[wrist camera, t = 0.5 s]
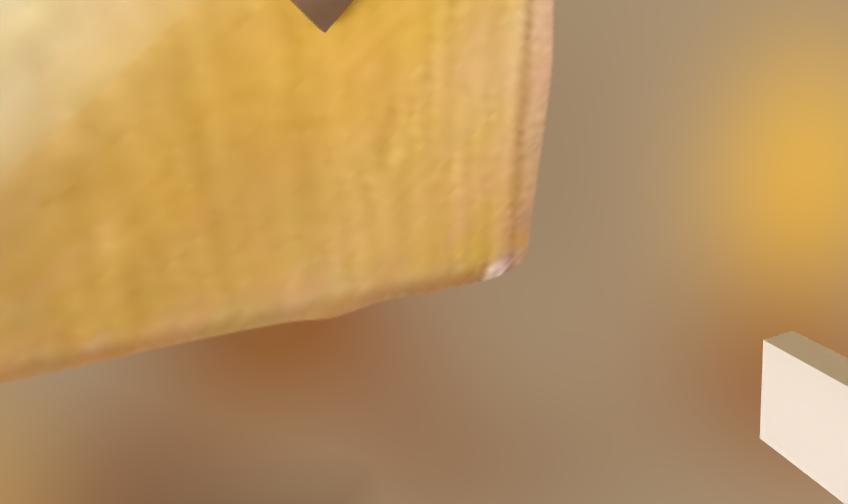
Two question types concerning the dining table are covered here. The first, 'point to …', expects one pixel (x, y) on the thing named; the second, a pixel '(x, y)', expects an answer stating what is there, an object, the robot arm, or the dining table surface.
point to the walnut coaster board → (322, 11)
